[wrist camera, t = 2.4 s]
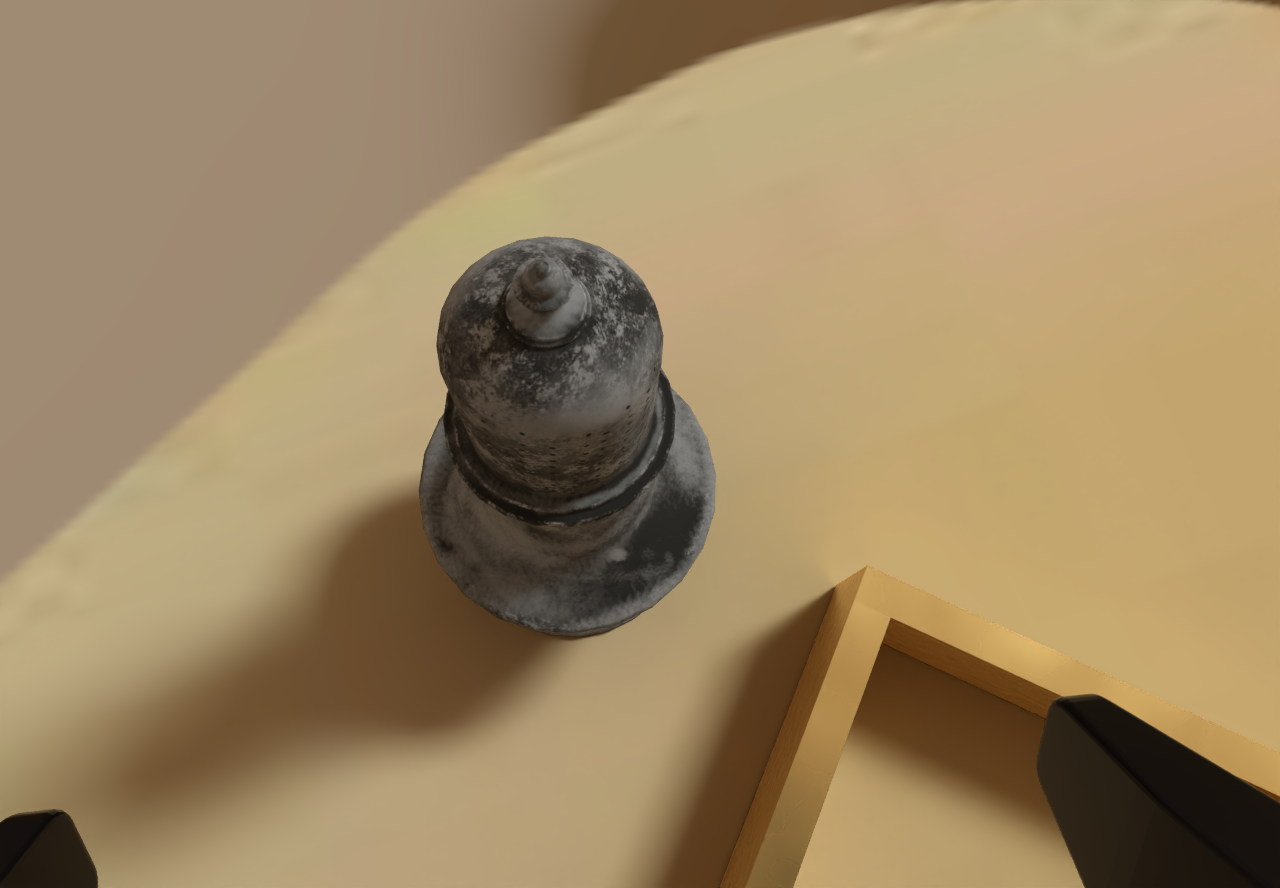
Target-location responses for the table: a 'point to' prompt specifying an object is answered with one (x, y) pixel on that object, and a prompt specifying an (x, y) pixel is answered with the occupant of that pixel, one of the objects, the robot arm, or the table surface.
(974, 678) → the two-tone flat frame block
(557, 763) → the table surface
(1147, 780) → the robot arm
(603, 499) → the dark grey tall piece
